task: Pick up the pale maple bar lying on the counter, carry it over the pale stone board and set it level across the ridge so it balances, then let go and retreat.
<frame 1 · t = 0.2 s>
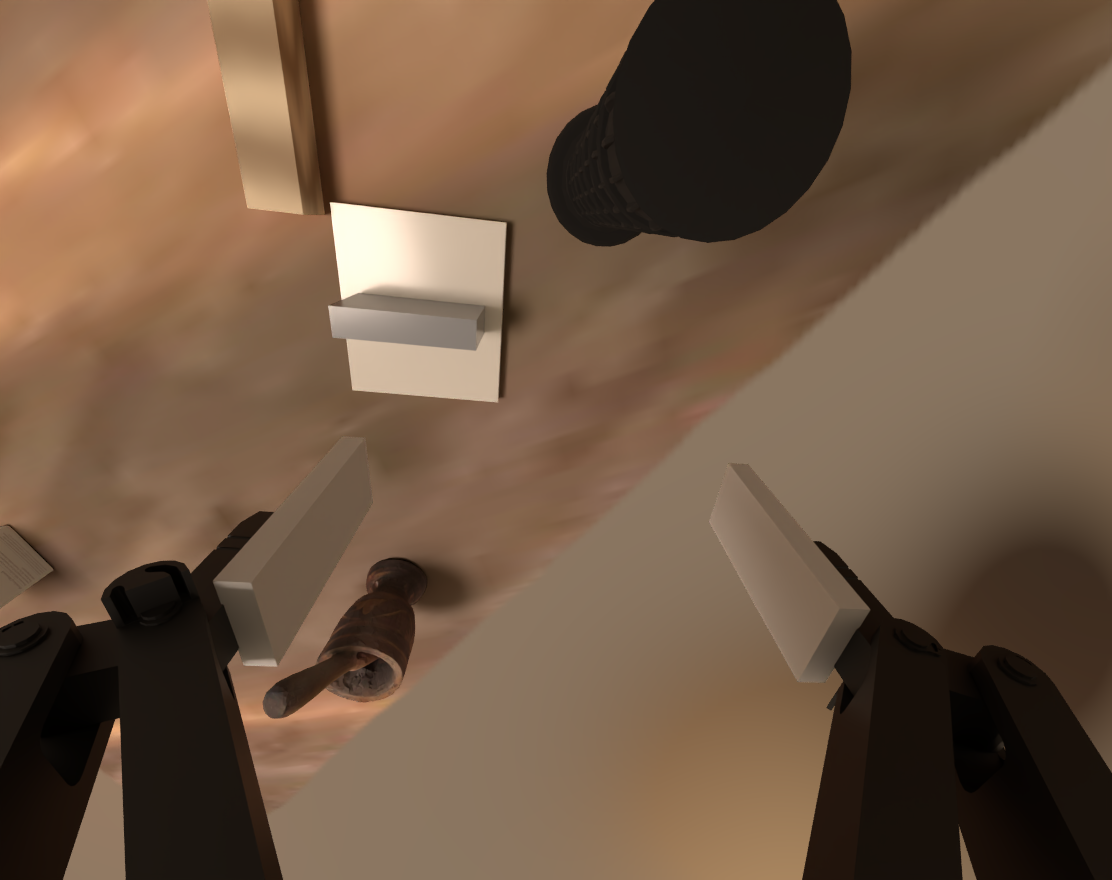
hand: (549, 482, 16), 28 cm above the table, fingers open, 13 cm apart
maple bar: (279, 56, 31), on the table
mortar and pestle: (387, 571, 54), on the table
supplement box: (7, 551, 51), on the table
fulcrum: (426, 310, 39), on the table
handle grip: (607, 179, 35), on the table
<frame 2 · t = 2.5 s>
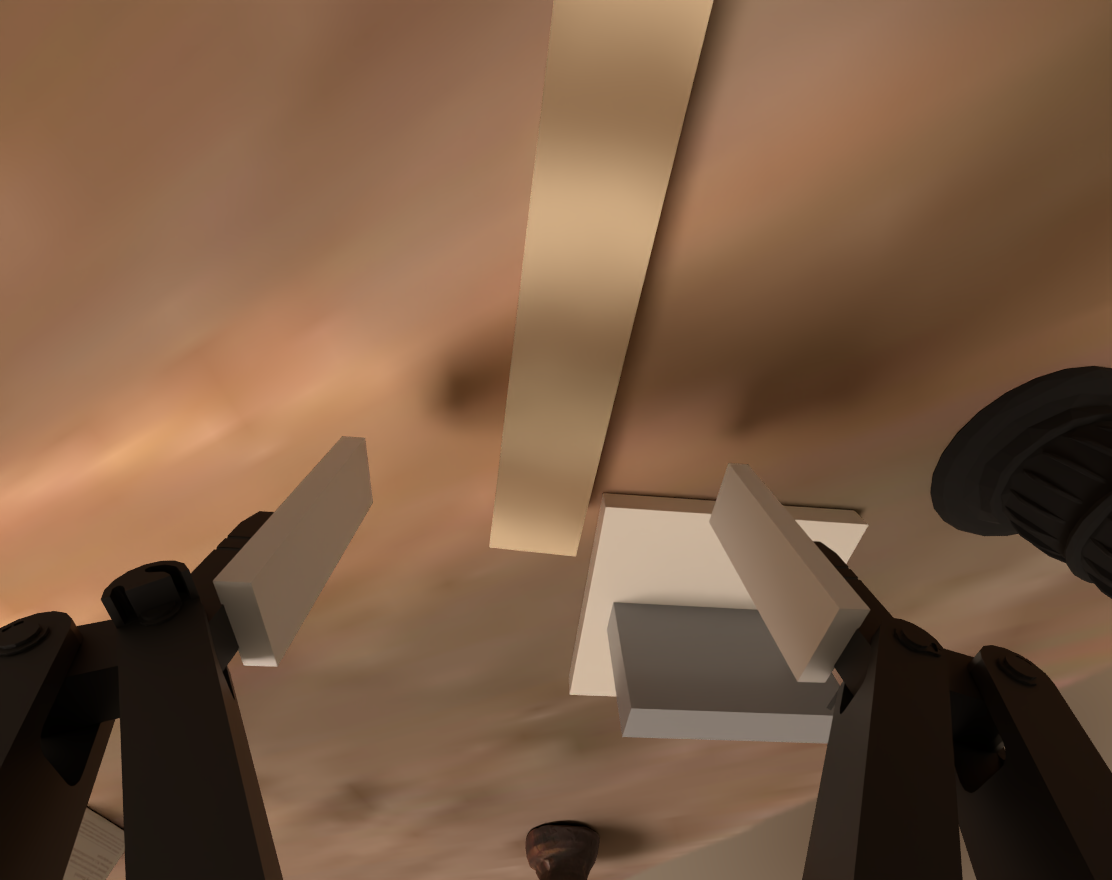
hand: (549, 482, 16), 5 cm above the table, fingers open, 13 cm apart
maple bar: (566, 313, 18), on the table
mortar and pestle: (550, 829, 42), on the table
supplement box: (76, 821, 39), on the table
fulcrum: (693, 604, 27), on the table
handle grip: (1029, 457, 22), on the table
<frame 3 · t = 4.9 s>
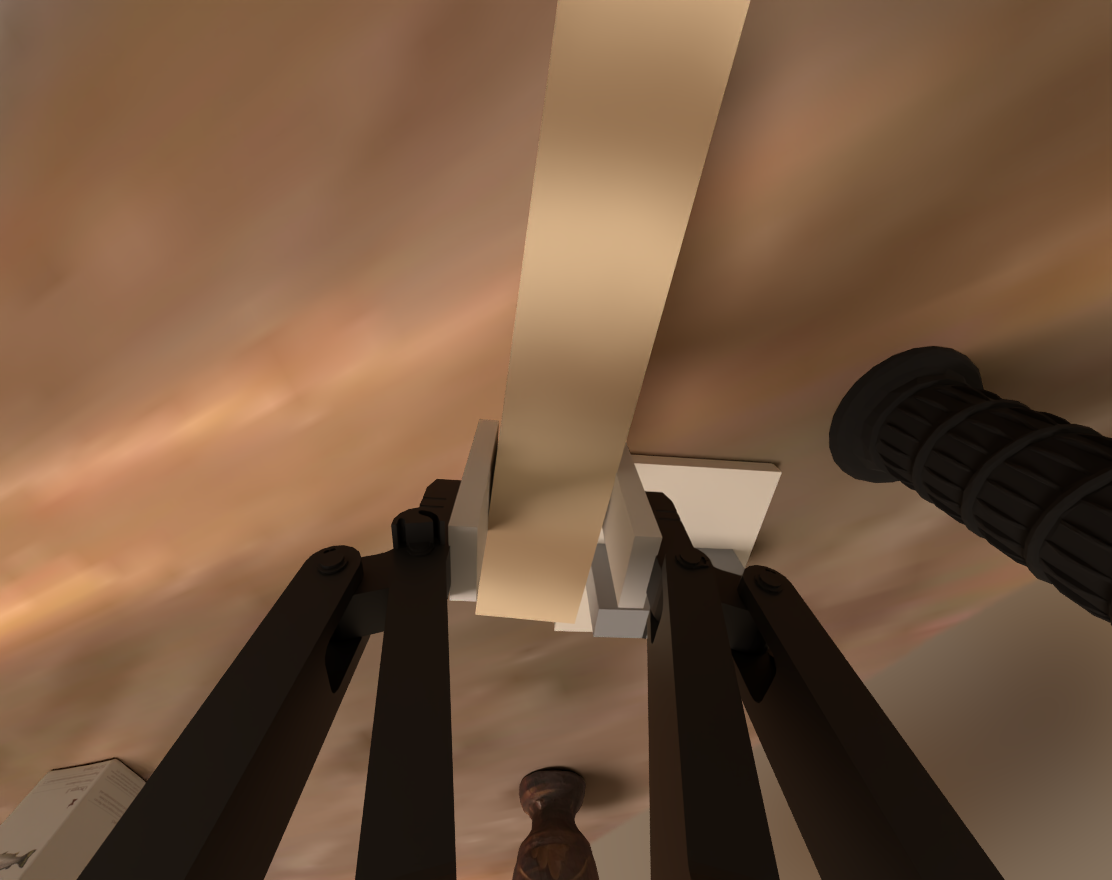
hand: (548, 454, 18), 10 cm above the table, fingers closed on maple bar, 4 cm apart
maple bar: (566, 349, 16), point 9 cm above the table, touching gripper
mortar and pestle: (541, 777, 47), on the table
supplement box: (109, 779, 43), on the table
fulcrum: (653, 547, 33), on the table
handle grip: (900, 418, 29), on the table
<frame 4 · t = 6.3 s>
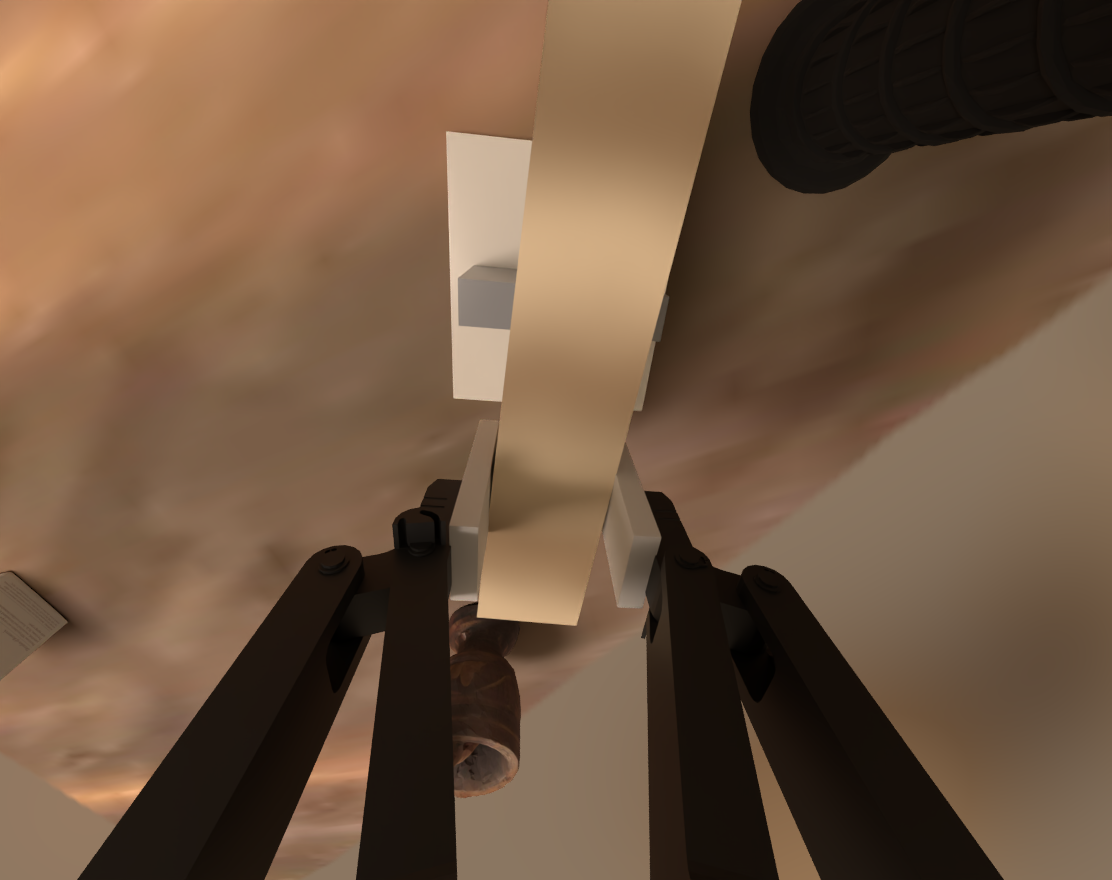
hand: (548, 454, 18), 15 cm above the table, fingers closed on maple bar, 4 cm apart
maple bar: (564, 350, 16), point 14 cm above the table, touching gripper
mortar and pestle: (471, 616, 44), on the table
supplement box: (11, 601, 41), on the table
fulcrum: (558, 289, 29), on the table
handle grip: (836, 93, 25), on the table
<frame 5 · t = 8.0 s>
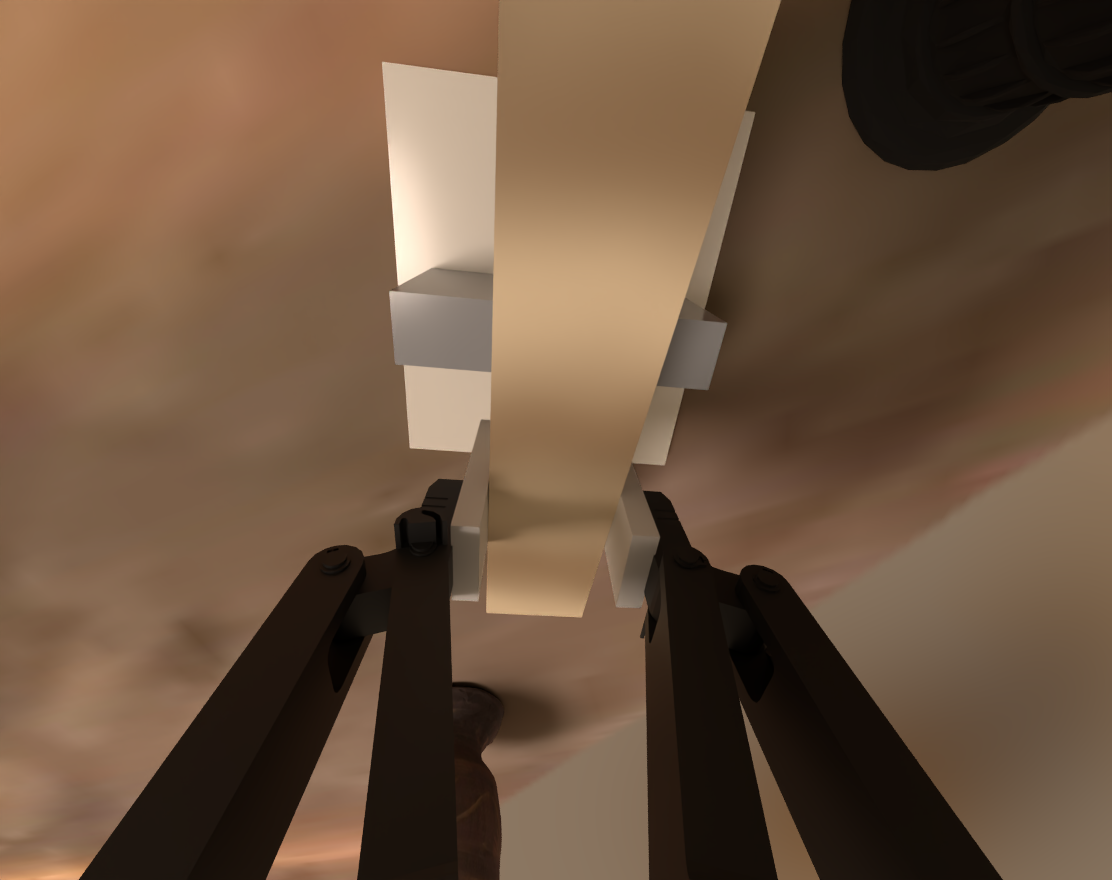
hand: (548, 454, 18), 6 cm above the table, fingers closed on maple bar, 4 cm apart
maple bar: (562, 357, 14), point 7 cm above the table, tilted 13°, touching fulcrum, gripper
mortar and pestle: (445, 697, 36), on the table
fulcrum: (553, 302, 21), on the table
handle grip: (972, 17, 16), on the table
when the fingers open (6 cm above the table, at t = 8.3 s): maple bar stays where it is, resting on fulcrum.
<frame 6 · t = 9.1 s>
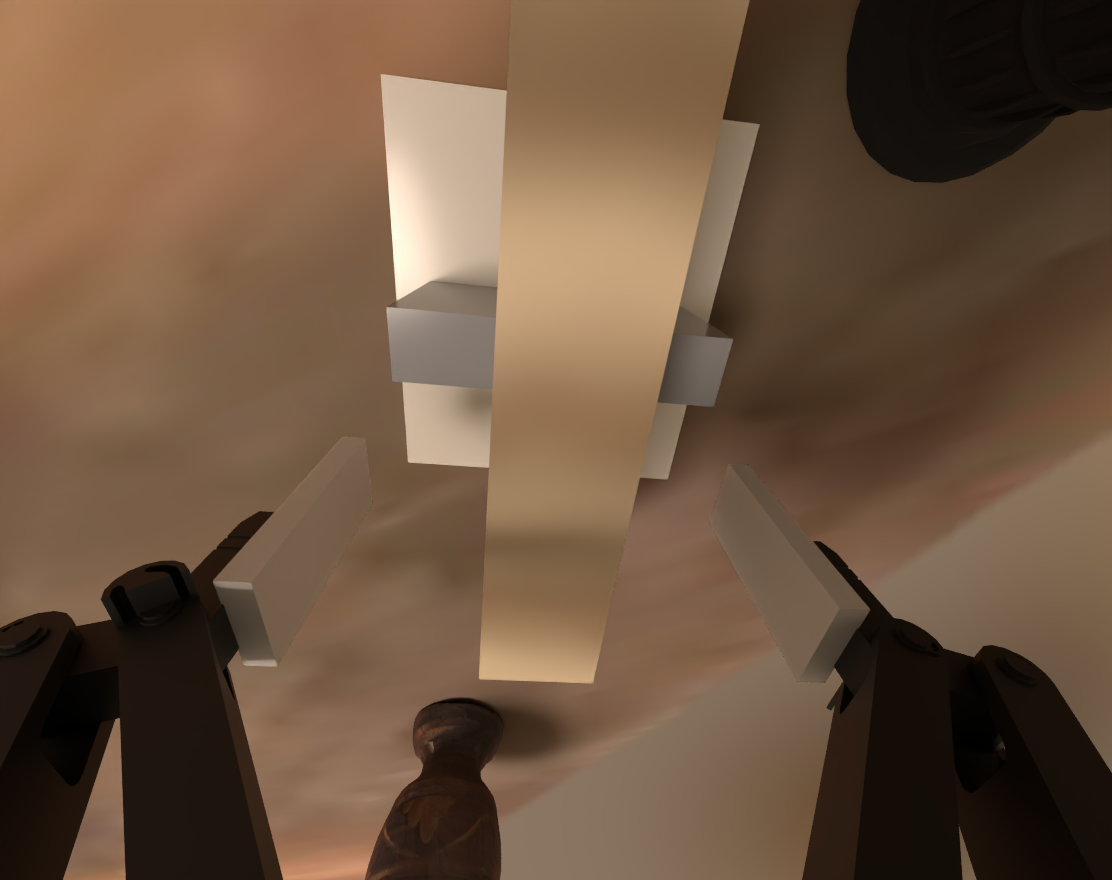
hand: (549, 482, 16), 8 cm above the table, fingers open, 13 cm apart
maple bar: (564, 372, 14), point 7 cm above the table, touching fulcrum
mortar and pestle: (443, 714, 35), on the table
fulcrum: (554, 315, 20), on the table
handle grip: (978, 29, 16), on the table
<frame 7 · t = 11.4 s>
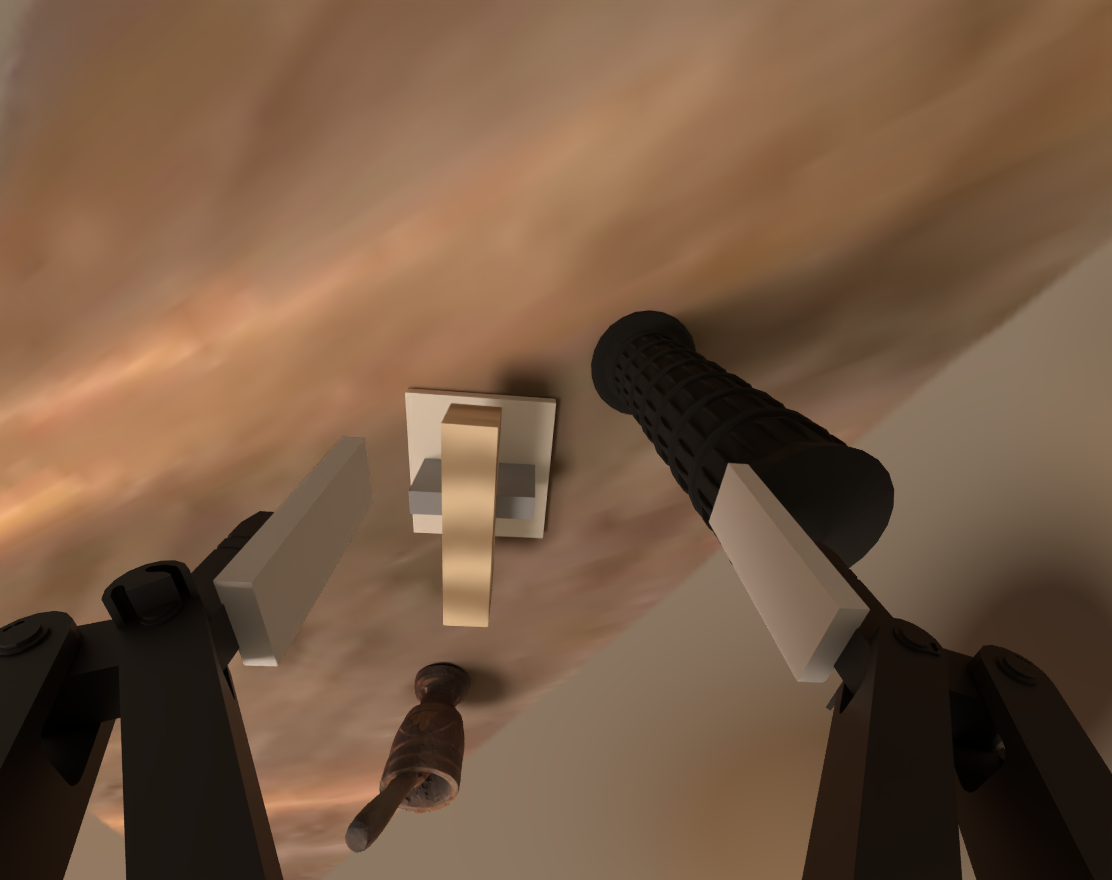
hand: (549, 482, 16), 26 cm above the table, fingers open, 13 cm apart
maple bar: (473, 509, 38), point 7 cm above the table, touching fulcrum
mortar and pestle: (433, 673, 58), on the table
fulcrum: (481, 466, 44), on the table
handle grip: (643, 365, 40), on the table
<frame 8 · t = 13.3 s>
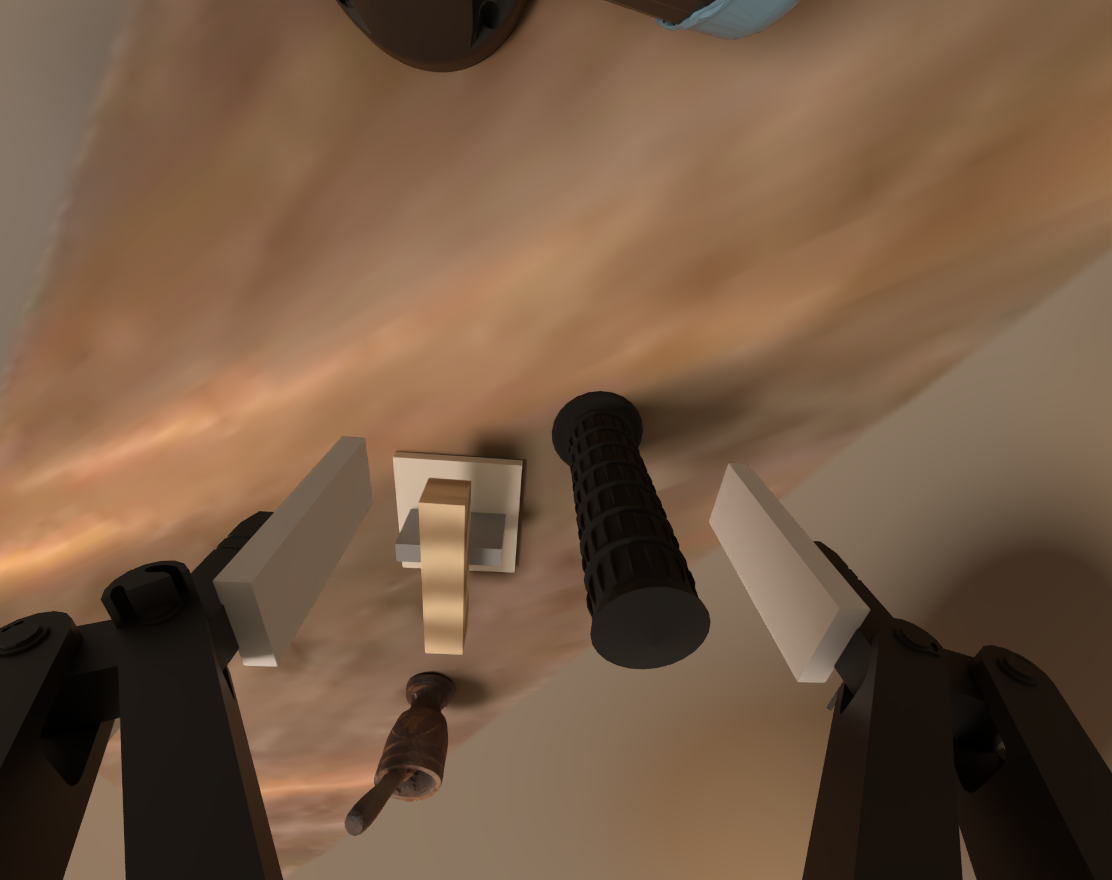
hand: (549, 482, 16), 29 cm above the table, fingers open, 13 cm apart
maple bar: (450, 558, 45), point 7 cm above the table, touching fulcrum
mortar and pestle: (422, 680, 66), on the table
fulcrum: (460, 513, 52), on the table
handle grip: (596, 433, 47), on the table
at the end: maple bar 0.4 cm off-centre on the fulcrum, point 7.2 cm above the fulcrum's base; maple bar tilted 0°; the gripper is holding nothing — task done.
